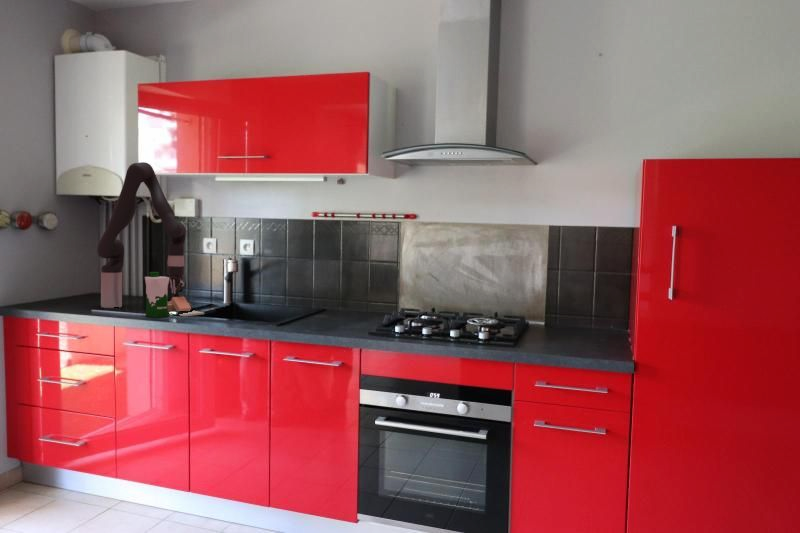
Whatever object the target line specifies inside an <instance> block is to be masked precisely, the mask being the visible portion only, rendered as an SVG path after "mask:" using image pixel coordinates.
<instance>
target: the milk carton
mask: <svg viewBox="0 0 800 533" xmlns="http://www.w3.org/2000/svg"><path fill="white" fill-rule="evenodd" d="M169 277H170V276H169ZM169 277H168V276H160V272H159V271H150V272H149V276H144V280H145V281H144V282H145V317H148V318H153V319H157V318H159V319H160V318H165V317H166V318H167V317H169V314H168V302H169V301H168V298H169V296H168V295H169V292H168V289H169V288H168V283H169Z"/></svg>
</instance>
